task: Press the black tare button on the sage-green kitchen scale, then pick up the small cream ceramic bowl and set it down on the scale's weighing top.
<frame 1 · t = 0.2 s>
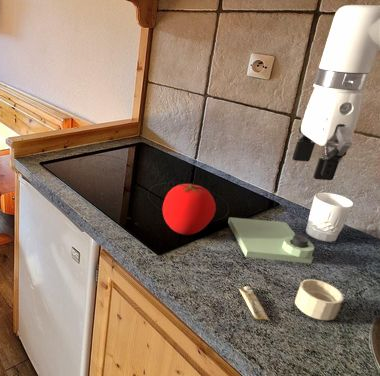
hand: (310, 169, 79), 23 cm above the worktop, tool pointing down, fingers open, 9 cm apart
scale: (266, 241, 99), on the worktop
snack bar: (251, 305, 78), on the worktop
white cup: (320, 235, 102), on the worktop
tomato: (184, 230, 103), on the worktop
bowl: (314, 309, 77), on the worktop
tare button: (299, 241, 91), point 4 cm above the worktop, slide at 0.1 cm
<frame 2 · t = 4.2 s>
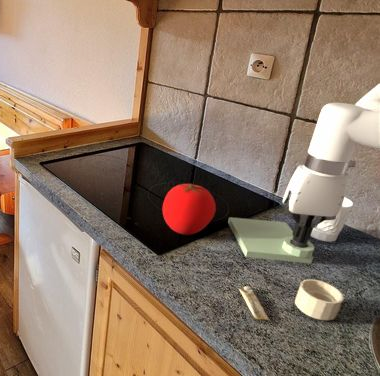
hand: (299, 239, 91), 5 cm above the worktop, tool pointing down, fingers closed
tare button: (299, 243, 92), point 4 cm above the worktop, slide at -0.3 cm, touching gripper
everything else where it was.
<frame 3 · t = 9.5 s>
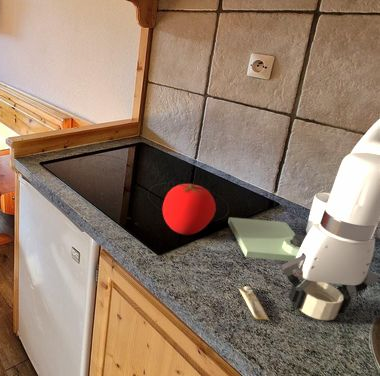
hand: (315, 305, 77), 1 cm above the worktop, tool pointing down, fingers closed on bowl, 6 cm apart
bowl: (314, 309, 77), on the worktop, touching gripper
tare button: (299, 241, 91), point 4 cm above the worktop, slide at 0.1 cm
everything else where it was.
when the fingers open (3 cm above the worktop, at t = 17.1 s): bowl stays where it is, resting on scale.
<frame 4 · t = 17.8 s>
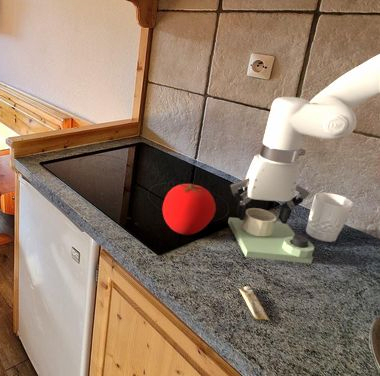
hand: (260, 219, 98), 5 cm above the worktop, tool pointing down, fingers open, 9 cm apart
bowl: (256, 230, 100), point 2 cm above the worktop, touching scale
everything else where it was.
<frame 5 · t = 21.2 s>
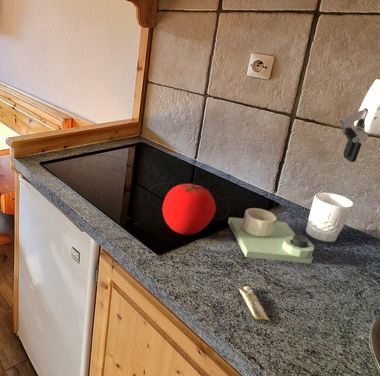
hand: (374, 161, 81), 24 cm above the worktop, tool pointing down, fingers open, 9 cm apart
nothing on the worktop moved.
at the end: tare button pushed in 1.1 cm at the most during the clip, back to where it started at the end; tare button slide at 0.1 cm; bowl inside the target area on the scale (2.8 cm from its centre), point 1.7 cm above the scale's base; bowl touching scale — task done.
